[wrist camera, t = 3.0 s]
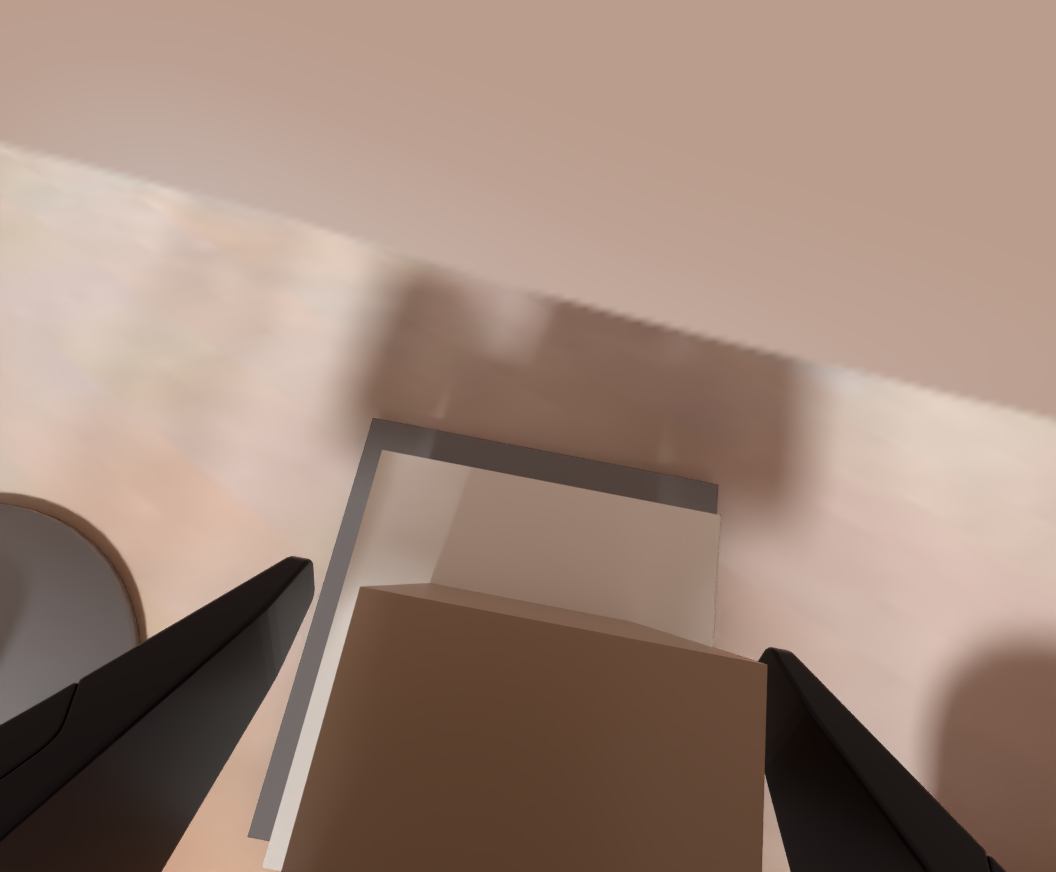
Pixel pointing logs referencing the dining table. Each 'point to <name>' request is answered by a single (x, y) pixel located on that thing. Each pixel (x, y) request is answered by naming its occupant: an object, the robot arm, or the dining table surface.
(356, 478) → the mat
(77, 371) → the dining table surface
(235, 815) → the dining table surface
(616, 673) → the white brown stepped block
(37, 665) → the grey disc
